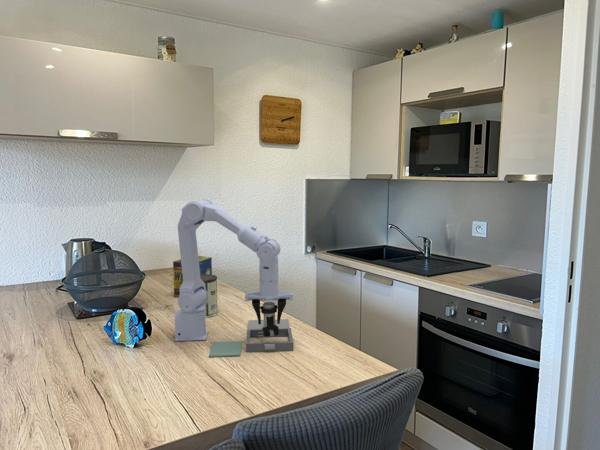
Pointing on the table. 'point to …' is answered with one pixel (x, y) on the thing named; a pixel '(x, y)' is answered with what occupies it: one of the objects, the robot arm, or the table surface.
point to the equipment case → (269, 346)
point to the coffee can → (210, 294)
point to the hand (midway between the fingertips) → (269, 323)
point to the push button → (269, 319)
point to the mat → (226, 349)
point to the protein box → (204, 267)
